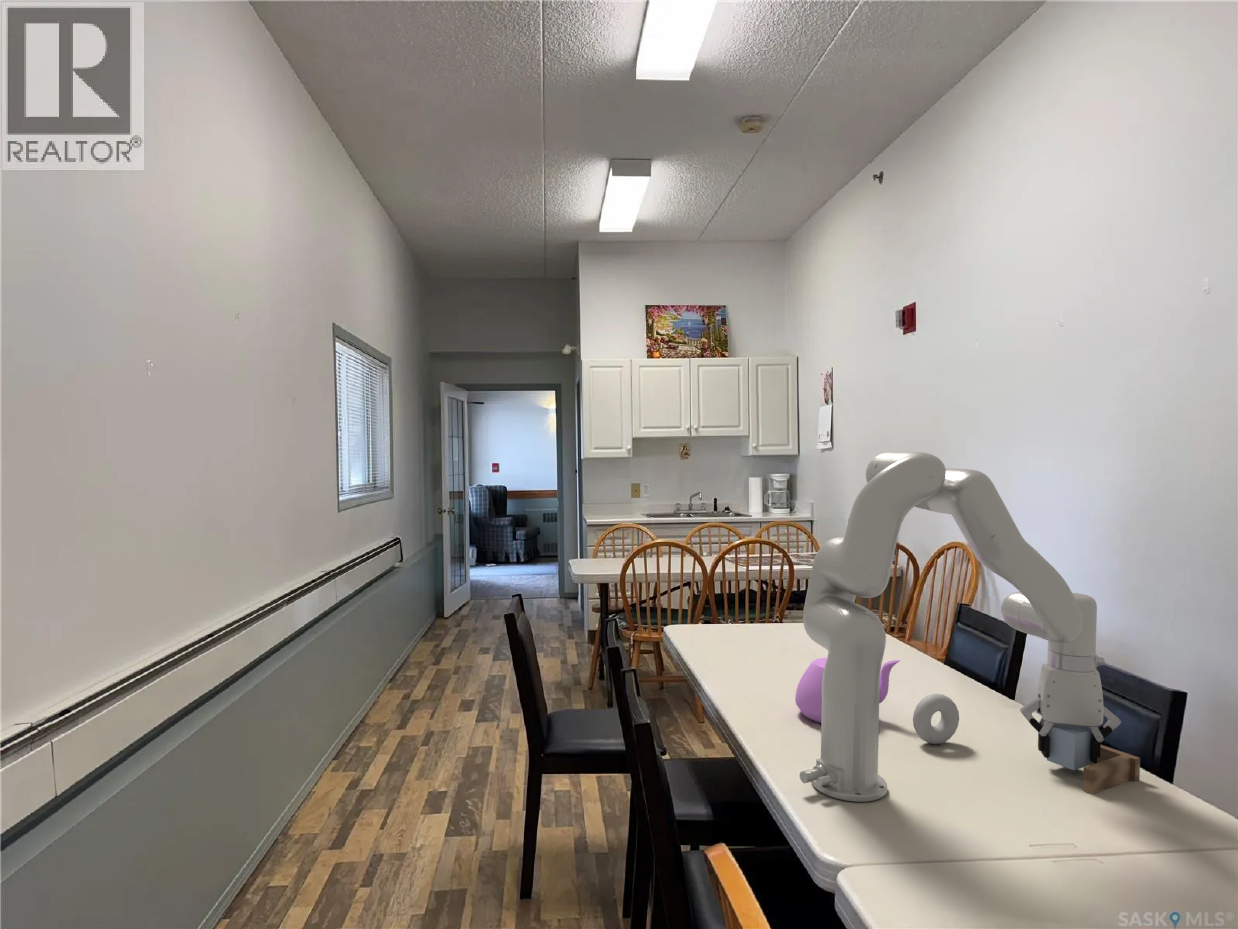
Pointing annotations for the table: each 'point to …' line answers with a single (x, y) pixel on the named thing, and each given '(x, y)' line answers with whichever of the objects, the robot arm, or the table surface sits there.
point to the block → (1069, 746)
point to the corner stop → (1110, 770)
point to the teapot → (811, 688)
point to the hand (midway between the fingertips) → (1068, 757)
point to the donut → (946, 724)
